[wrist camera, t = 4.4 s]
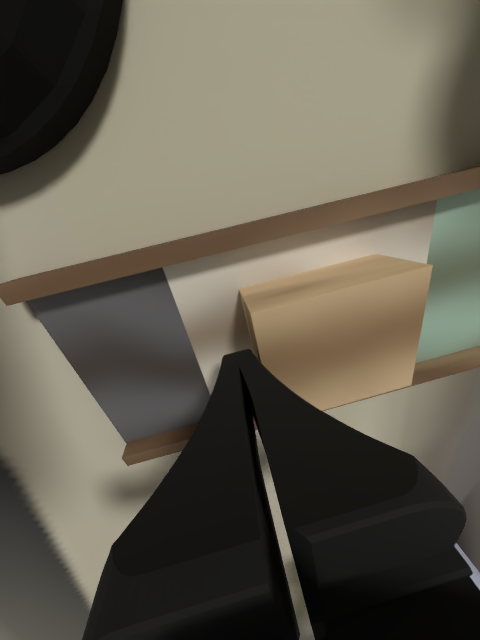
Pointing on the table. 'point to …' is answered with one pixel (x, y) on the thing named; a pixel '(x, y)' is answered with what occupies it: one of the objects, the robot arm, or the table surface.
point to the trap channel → (226, 306)
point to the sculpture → (49, 70)
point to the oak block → (340, 327)
